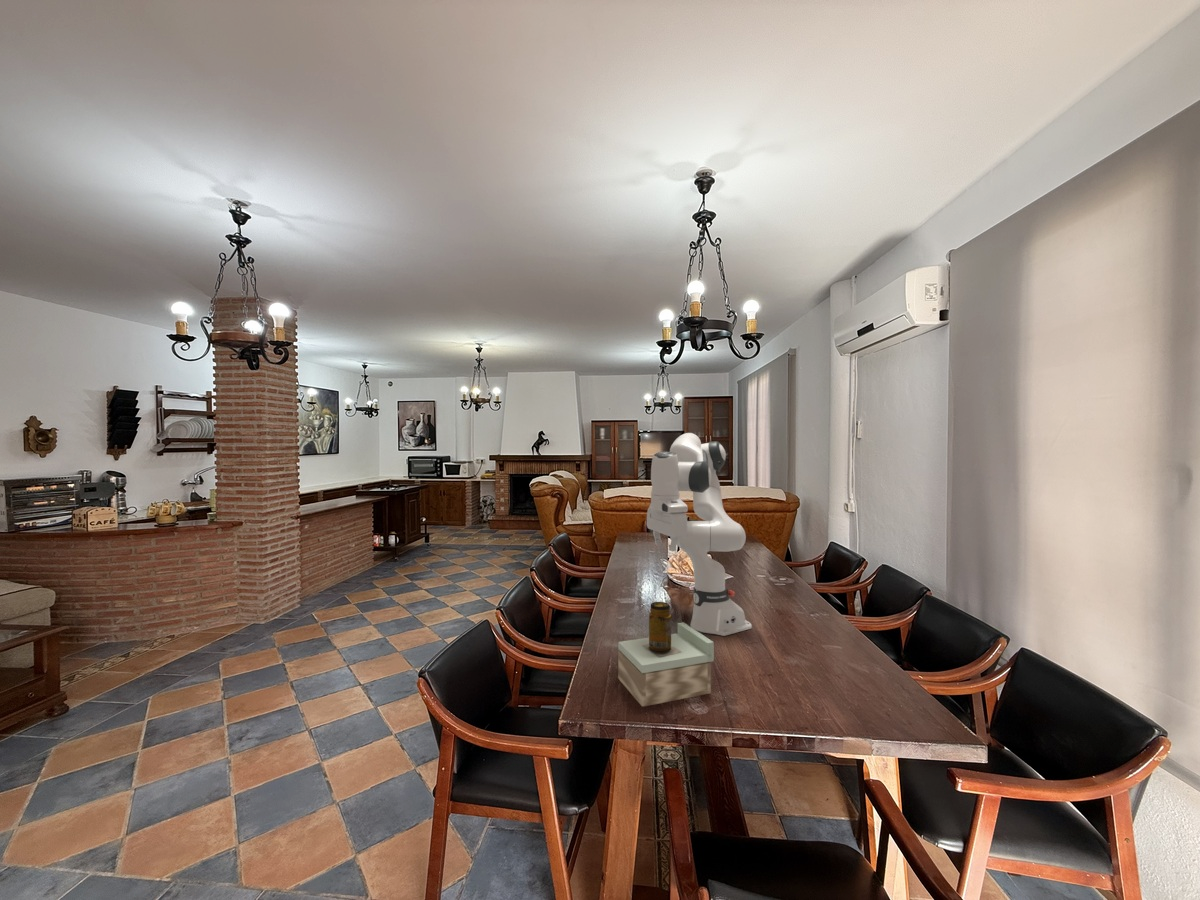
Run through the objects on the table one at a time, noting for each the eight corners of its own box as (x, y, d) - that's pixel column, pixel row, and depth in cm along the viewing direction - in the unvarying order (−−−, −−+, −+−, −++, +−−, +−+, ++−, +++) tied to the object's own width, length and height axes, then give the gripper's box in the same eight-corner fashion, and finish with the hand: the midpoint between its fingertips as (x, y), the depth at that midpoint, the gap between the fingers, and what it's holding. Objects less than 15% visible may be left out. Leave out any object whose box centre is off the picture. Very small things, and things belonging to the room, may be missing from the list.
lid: (683, 639, 139) (683, 622, 140) (713, 661, 124) (713, 642, 125) (618, 648, 132) (618, 631, 132) (642, 673, 117) (642, 653, 117)
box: (680, 667, 139) (680, 640, 139) (710, 693, 124) (710, 662, 124) (618, 678, 132) (618, 650, 132) (642, 706, 117) (642, 674, 117)
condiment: (663, 641, 133) (663, 599, 133) (681, 652, 125) (681, 607, 125) (641, 646, 129) (641, 602, 130) (659, 657, 122) (659, 611, 122)
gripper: (641, 500, 155) (642, 542, 155) (671, 508, 136) (672, 555, 136) (658, 499, 157) (659, 540, 157) (690, 507, 138) (691, 553, 138)
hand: (665, 547), depth 146 cm, fingers open, 8 cm apart
